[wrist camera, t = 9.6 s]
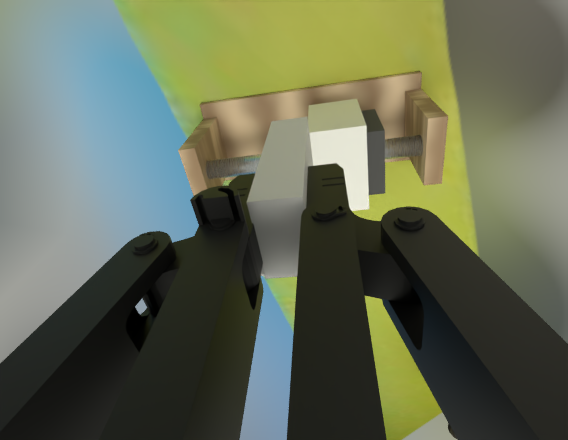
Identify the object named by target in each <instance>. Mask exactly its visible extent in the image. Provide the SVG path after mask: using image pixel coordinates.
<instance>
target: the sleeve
mask: <svg viewBox="0 0 568 440" xmlns="http://www.w3.org/2000/svg"><path fill="white" fill-rule="evenodd" d="M308 126H309V134H310V142H311V150H312V158H313V166H316V165H324V164H333V163H337V164H338V165H339V166H340V167H342V168H343V169H344V176H345V182H346V189H347V195H348V202H349V207H350V210H351V211H354V210H365V209H369V189H368V158H367V127H366V123H365V120H364V117H363V115H362V112H361V109H360V106H359V103H358V101H357V99H350V100H343V101H336V102H329V103H321V104H314V105H309V110H308Z"/></svg>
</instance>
